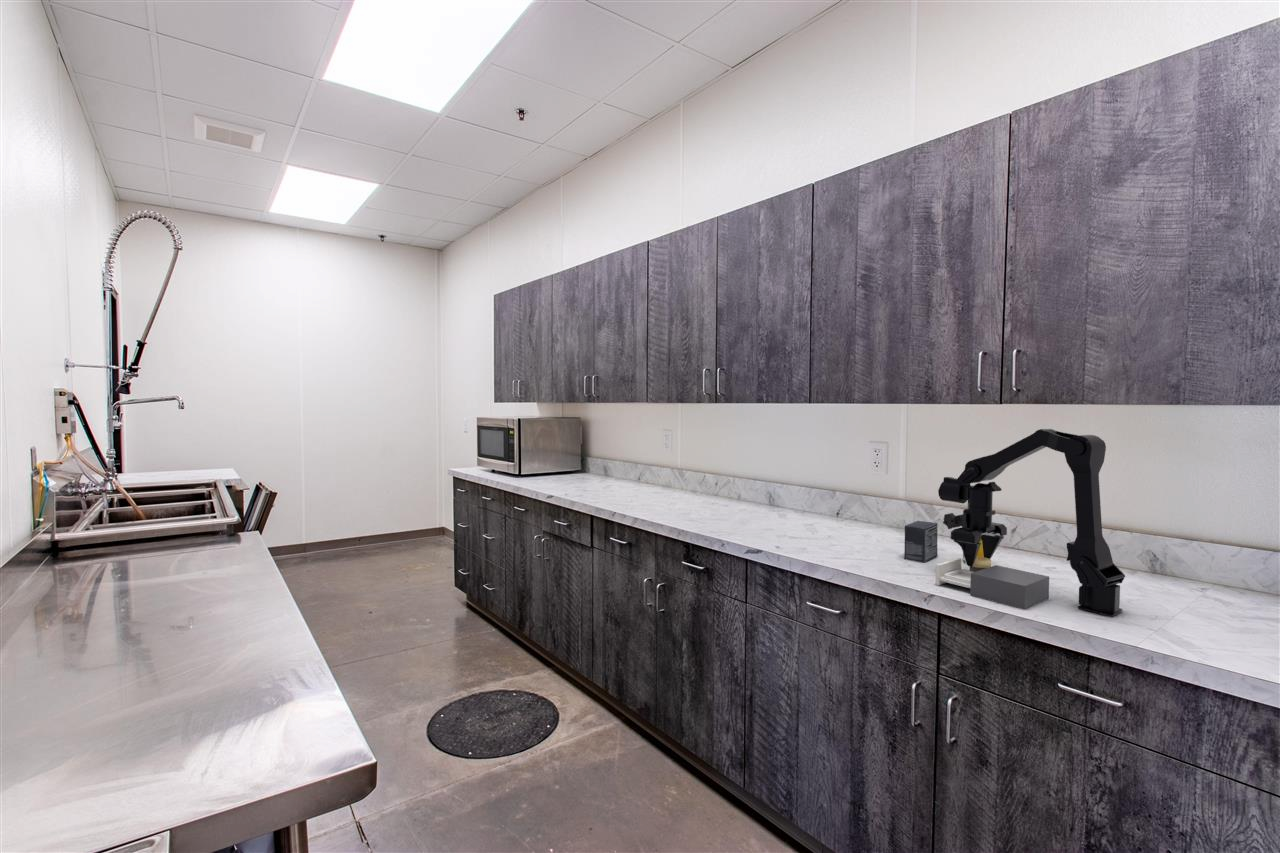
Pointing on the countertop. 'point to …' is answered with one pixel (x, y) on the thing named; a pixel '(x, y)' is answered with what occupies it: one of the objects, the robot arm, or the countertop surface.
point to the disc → (981, 562)
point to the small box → (921, 541)
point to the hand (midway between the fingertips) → (978, 563)
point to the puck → (976, 569)
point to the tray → (953, 573)
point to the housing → (1010, 586)
